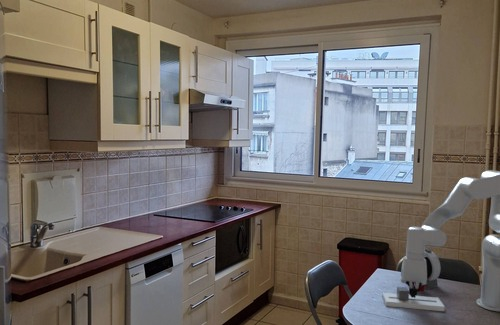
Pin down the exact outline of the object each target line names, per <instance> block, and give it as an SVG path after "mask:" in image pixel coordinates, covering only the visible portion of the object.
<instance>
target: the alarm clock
mask: <svg viewBox="0 0 500 325" xmlns="http://www.w3.org/2000/svg"><path fill="white" fill-rule="evenodd" d="M425 253H426V254H428V257H425V259H426V265H427V281H426V282H427V284H426V287H425V289H433V288H437V287H438V286H439V285H438V278H439V276H440V274H441V270H442V268H441V262H440V259H439V257H438V256H437V254H436V253H435V252H433V251H432V250H431V249H430V248H428V247H426V246H425Z"/></svg>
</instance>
